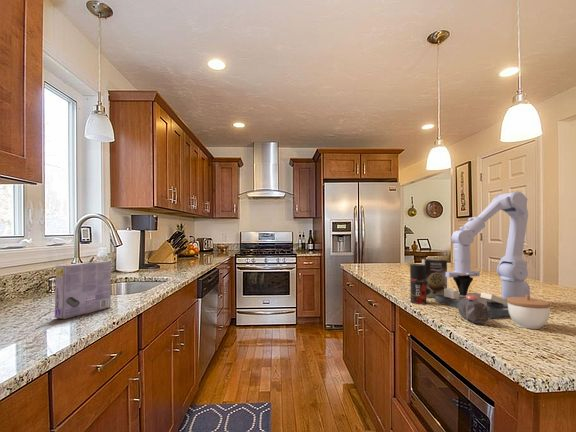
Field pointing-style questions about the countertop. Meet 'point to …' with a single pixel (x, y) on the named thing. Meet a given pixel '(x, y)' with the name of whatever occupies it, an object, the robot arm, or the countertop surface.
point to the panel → (493, 308)
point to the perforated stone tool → (473, 310)
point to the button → (472, 297)
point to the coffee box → (435, 276)
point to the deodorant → (418, 283)
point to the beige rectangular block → (494, 298)
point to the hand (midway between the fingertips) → (463, 295)
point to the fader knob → (451, 293)
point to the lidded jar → (528, 311)
